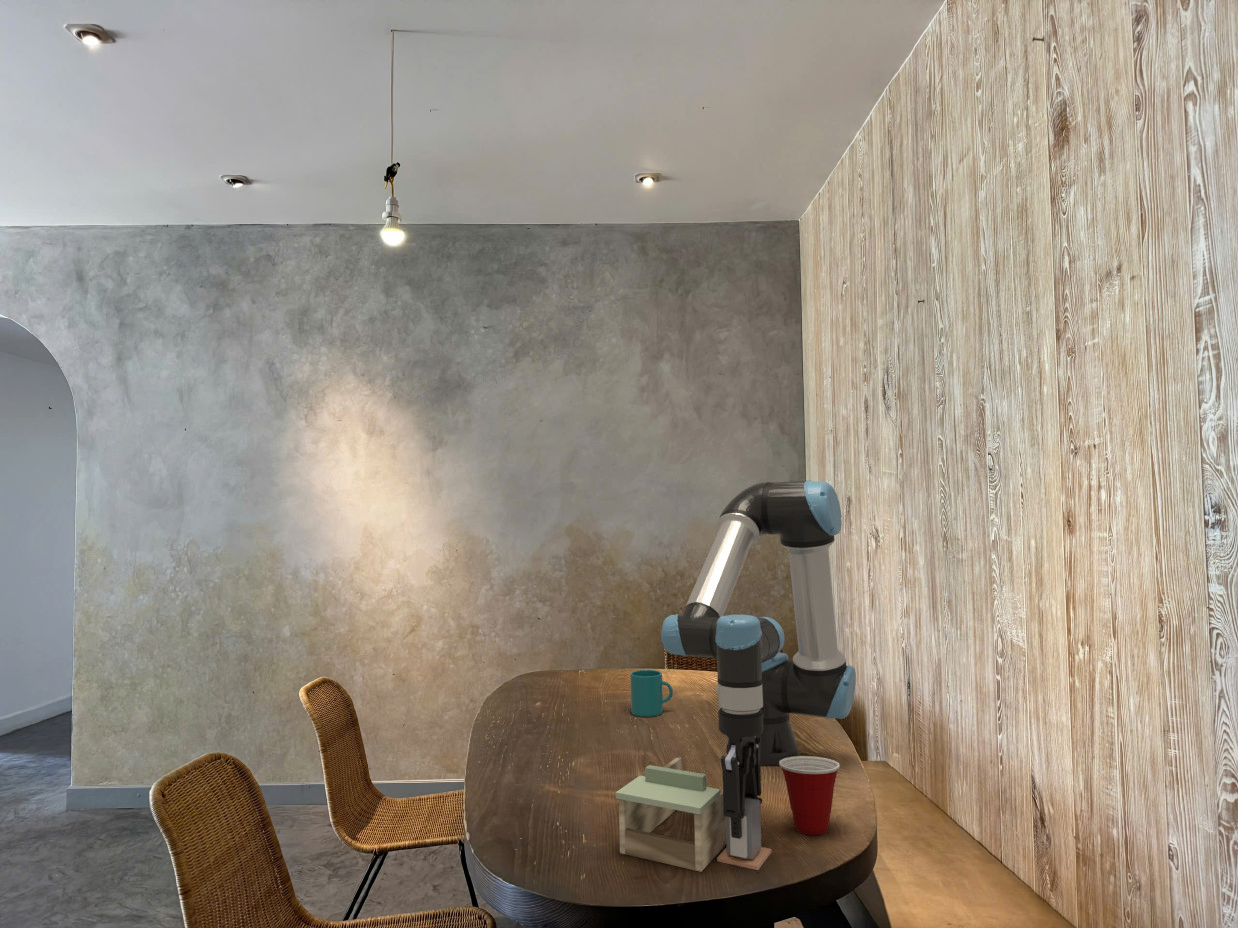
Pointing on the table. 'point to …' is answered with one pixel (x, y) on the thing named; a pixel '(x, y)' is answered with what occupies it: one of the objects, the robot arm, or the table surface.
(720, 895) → the table surface
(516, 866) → the table surface
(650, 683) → the cup
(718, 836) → the wooden box
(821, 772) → the plastic cup
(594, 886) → the table surface
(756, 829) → the slate block
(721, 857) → the terracotta coaster
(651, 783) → the cover
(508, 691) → the table surface
